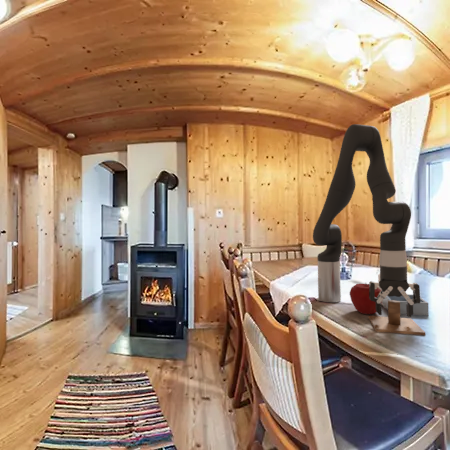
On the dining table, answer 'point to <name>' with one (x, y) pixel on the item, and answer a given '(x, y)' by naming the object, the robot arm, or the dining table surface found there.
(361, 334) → the dining table surface
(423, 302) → the grey open box
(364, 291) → the apple
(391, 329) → the lid
